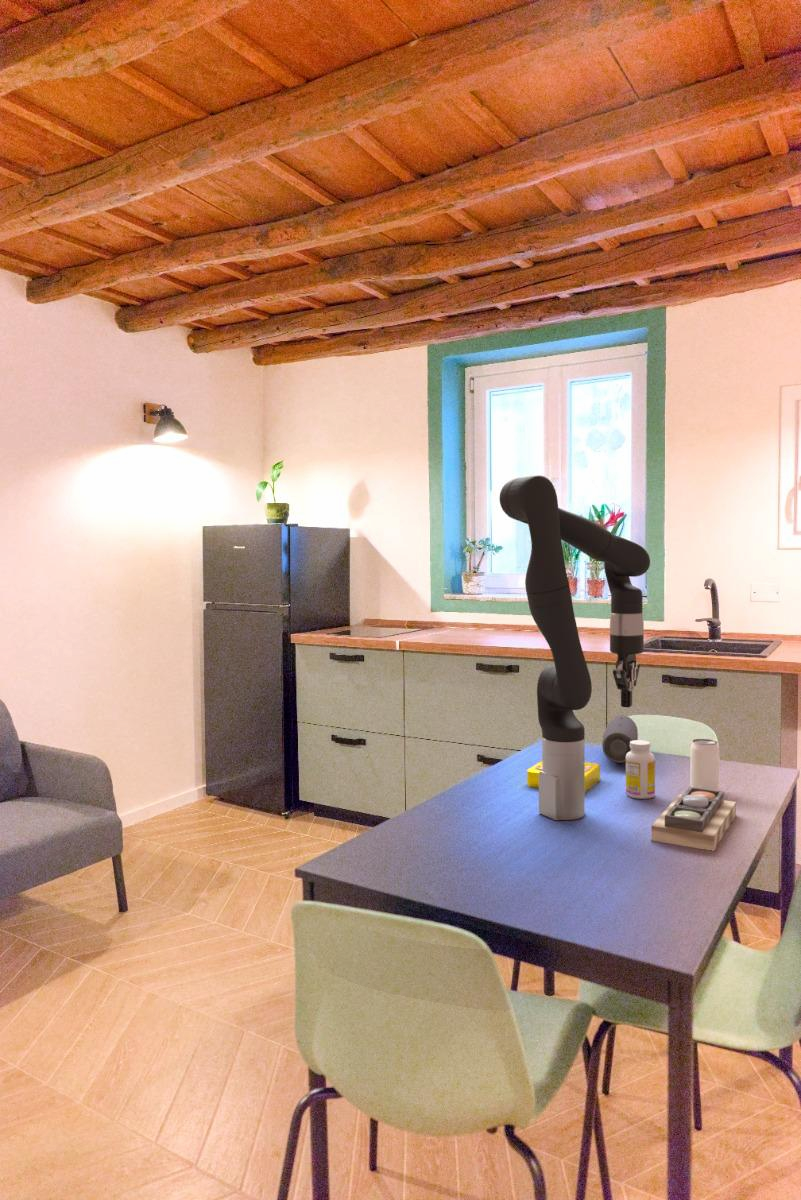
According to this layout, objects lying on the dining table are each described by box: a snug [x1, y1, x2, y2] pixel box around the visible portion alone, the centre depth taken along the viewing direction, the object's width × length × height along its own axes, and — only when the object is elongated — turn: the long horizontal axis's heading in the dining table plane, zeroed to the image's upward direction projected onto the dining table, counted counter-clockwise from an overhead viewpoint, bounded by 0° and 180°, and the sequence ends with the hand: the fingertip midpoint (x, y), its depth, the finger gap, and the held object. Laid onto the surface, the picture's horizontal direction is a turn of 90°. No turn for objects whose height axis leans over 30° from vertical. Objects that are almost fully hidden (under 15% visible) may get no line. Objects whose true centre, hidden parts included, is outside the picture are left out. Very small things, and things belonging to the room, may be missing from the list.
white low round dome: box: [683, 795, 708, 809], centre depth 173 cm, size 5×5×2 cm
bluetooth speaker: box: [601, 715, 639, 764], centre depth 230 cm, size 23×9×10 cm, turn 162°
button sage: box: [674, 811, 701, 820], centre depth 166 cm, size 5×5×2 cm
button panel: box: [650, 786, 737, 852], centre depth 173 cm, size 24×12×5 cm, turn 148°
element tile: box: [526, 760, 601, 793], centre depth 207 cm, size 15×15×5 cm
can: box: [689, 738, 720, 791], centre depth 198 cm, size 6×6×12 cm
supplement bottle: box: [625, 739, 656, 800], centre depth 195 cm, size 7×7×13 cm
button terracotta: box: [691, 791, 715, 799], centre depth 179 cm, size 5×5×2 cm
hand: (626, 706), depth 191 cm, fingers closed
